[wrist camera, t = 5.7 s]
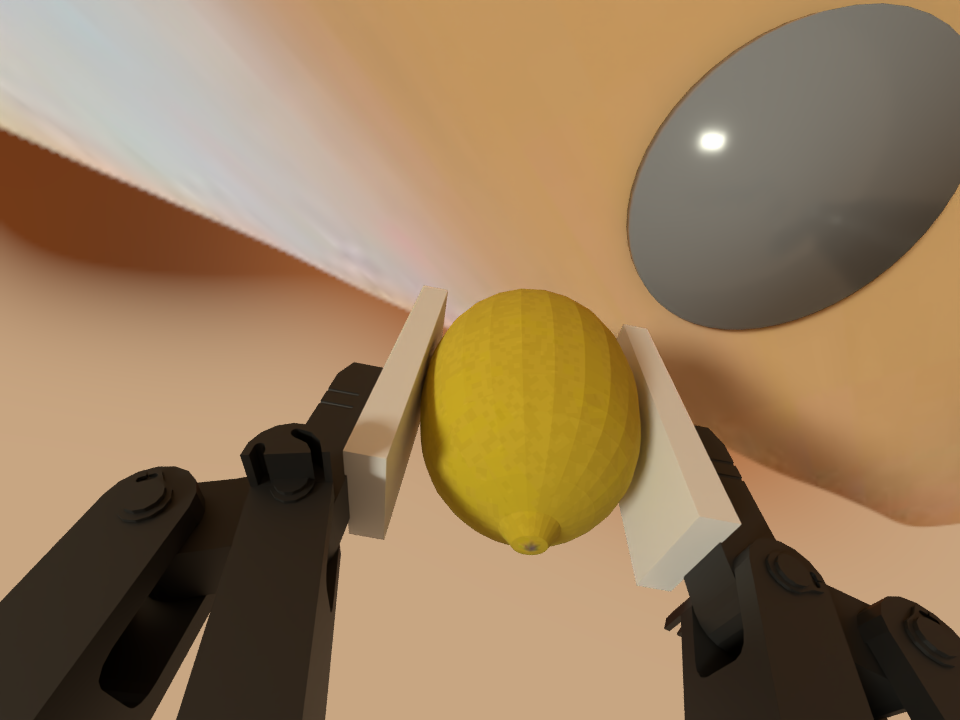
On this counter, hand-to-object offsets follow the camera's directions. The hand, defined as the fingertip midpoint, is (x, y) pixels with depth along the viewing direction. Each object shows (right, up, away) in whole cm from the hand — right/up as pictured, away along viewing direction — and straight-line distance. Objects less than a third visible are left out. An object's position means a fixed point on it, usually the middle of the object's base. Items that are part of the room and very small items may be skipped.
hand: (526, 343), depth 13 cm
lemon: (0, +1, +1) cm, 1 cm away
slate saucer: (+13, +7, +6) cm, 16 cm away
